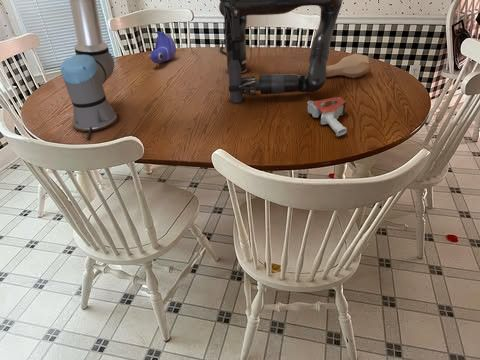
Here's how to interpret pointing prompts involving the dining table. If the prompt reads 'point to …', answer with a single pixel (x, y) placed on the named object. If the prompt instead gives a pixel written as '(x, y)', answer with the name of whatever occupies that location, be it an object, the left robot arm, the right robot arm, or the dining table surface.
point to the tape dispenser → (329, 113)
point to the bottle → (235, 80)
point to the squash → (350, 66)
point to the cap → (230, 54)
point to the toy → (163, 48)
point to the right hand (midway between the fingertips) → (229, 86)
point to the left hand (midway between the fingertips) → (233, 56)
